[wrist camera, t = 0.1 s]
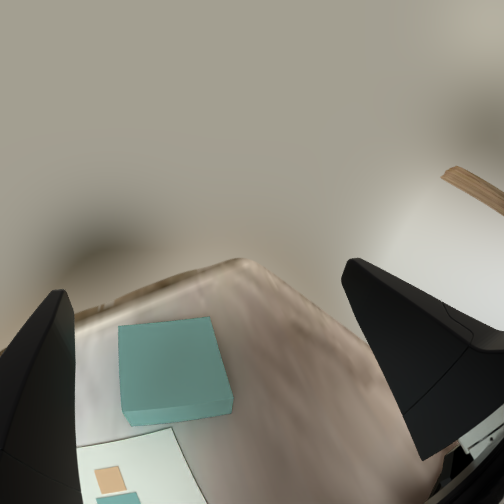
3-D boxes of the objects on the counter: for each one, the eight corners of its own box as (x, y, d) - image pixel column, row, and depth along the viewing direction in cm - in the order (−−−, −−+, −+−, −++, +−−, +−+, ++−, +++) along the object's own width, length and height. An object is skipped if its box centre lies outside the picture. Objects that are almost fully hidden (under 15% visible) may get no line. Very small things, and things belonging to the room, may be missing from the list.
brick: (231, 413, 21) (233, 397, 19) (131, 426, 18) (121, 411, 17) (209, 337, 27) (209, 316, 25) (125, 346, 24) (118, 326, 23)
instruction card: (221, 529, 13) (222, 529, 13) (66, 555, 8) (64, 555, 7) (171, 428, 19) (171, 427, 19) (36, 453, 14) (34, 452, 14)
